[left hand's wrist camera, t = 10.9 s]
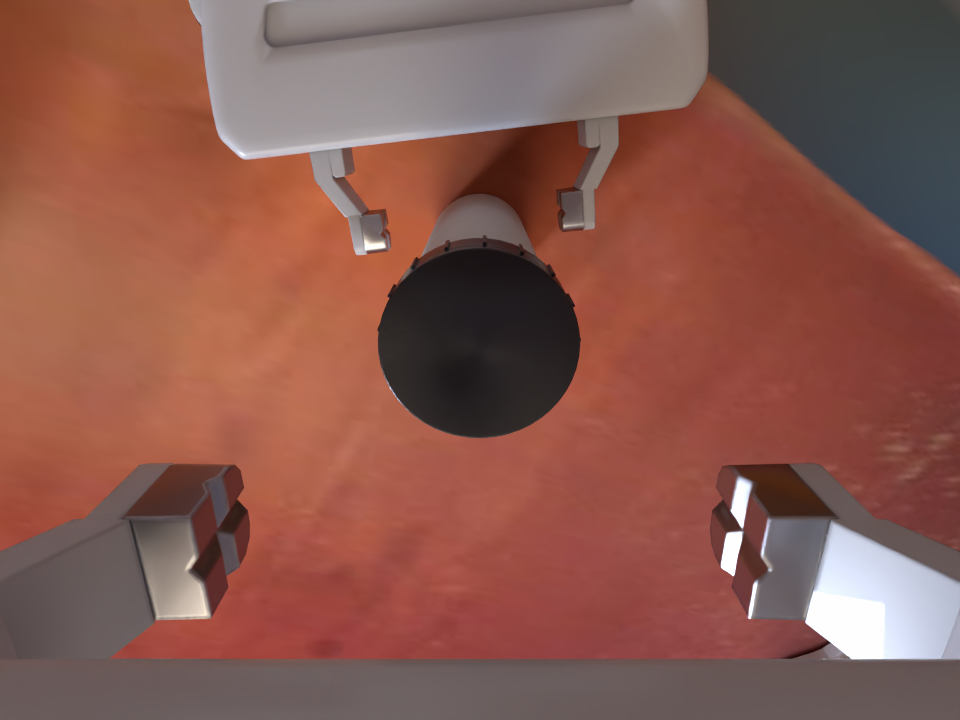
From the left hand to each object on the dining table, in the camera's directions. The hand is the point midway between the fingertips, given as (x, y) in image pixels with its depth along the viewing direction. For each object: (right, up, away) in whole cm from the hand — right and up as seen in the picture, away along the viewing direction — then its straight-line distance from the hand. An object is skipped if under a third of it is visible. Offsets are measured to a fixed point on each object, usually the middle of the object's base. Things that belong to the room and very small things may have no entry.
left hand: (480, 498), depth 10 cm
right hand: (0, +8, +18) cm, 19 cm away
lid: (0, +3, +7) cm, 8 cm away
